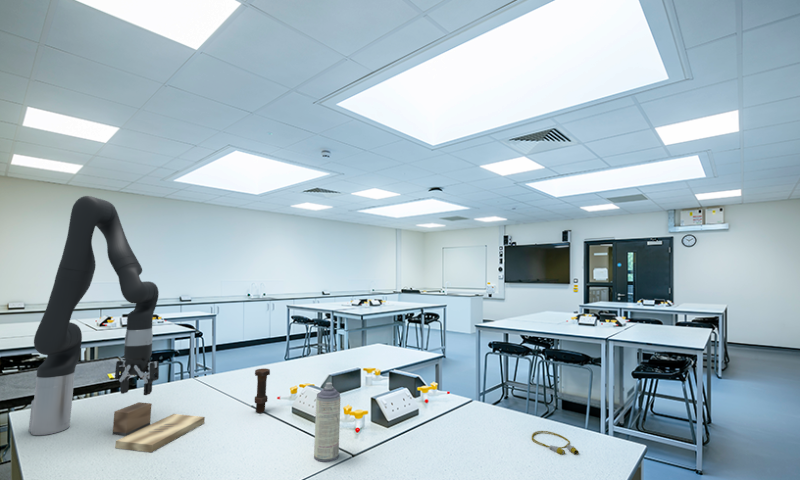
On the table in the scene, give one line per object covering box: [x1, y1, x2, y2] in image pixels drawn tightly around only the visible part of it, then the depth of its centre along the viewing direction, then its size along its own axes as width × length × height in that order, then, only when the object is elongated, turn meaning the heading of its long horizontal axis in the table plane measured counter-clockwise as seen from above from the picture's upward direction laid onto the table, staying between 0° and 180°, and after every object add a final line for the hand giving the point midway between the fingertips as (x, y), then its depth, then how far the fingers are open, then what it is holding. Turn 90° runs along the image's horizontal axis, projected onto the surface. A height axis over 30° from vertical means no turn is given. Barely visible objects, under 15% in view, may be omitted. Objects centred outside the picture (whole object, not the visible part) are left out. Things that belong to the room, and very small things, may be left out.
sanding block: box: [112, 402, 153, 437], centre depth 124 cm, size 5×9×7 cm, turn 170°
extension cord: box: [531, 430, 580, 456], centre depth 120 cm, size 12×16×2 cm
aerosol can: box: [313, 382, 341, 463], centre depth 110 cm, size 7×7×20 cm
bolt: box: [254, 367, 271, 414], centre depth 142 cm, size 6×5×15 cm
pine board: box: [115, 413, 206, 453], centre depth 121 cm, size 12×22×2 cm, turn 170°
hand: (135, 393), depth 125 cm, fingers open, 8 cm apart
